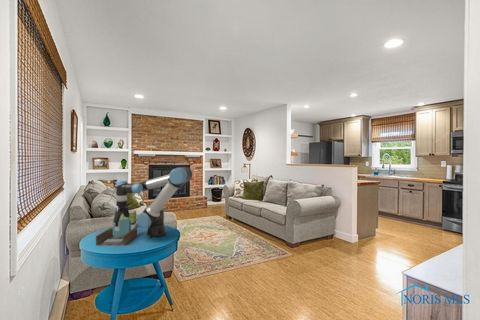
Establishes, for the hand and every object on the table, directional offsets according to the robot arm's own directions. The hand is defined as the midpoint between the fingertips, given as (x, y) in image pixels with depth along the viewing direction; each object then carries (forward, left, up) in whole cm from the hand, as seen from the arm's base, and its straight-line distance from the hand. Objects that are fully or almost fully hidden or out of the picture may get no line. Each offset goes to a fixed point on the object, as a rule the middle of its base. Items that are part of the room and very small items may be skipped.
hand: (121, 228), depth 186 cm
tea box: (+11, -30, -9) cm, 33 cm away
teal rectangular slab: (0, 0, -9) cm, 9 cm away
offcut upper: (-1, +13, -7) cm, 15 cm away
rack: (0, +7, -9) cm, 11 cm away
